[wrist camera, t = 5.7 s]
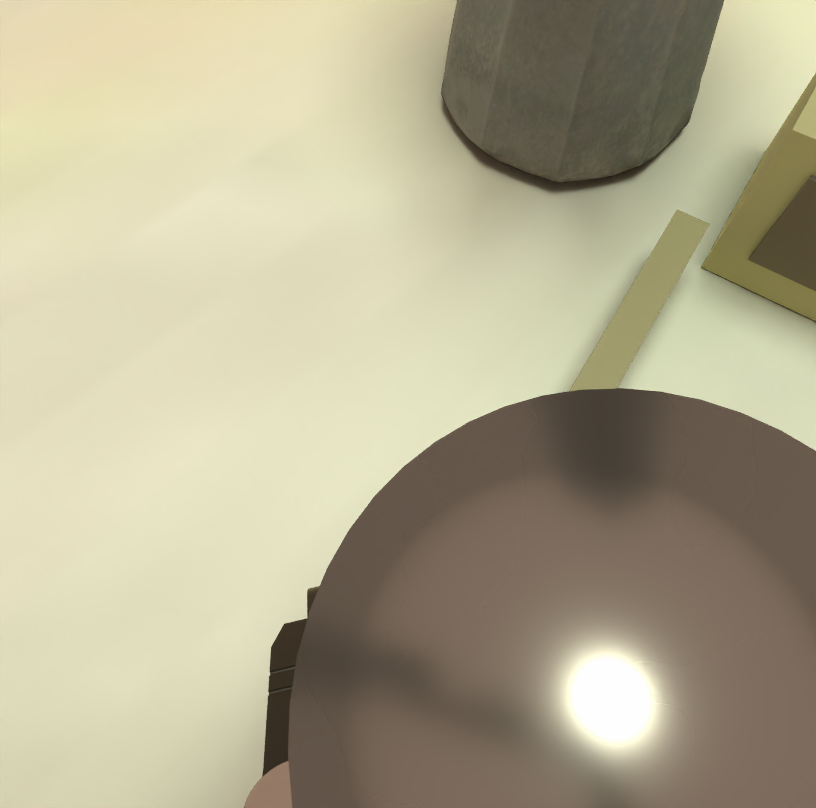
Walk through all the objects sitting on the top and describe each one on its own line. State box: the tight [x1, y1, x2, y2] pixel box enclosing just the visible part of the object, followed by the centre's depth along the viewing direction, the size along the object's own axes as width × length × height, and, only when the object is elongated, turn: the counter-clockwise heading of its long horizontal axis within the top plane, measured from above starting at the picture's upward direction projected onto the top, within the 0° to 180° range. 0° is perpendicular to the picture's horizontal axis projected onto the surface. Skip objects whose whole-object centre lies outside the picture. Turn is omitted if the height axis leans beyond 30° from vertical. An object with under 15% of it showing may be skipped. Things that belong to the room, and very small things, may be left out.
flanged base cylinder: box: [288, 388, 816, 808], centre depth 11 cm, size 6×6×14 cm
